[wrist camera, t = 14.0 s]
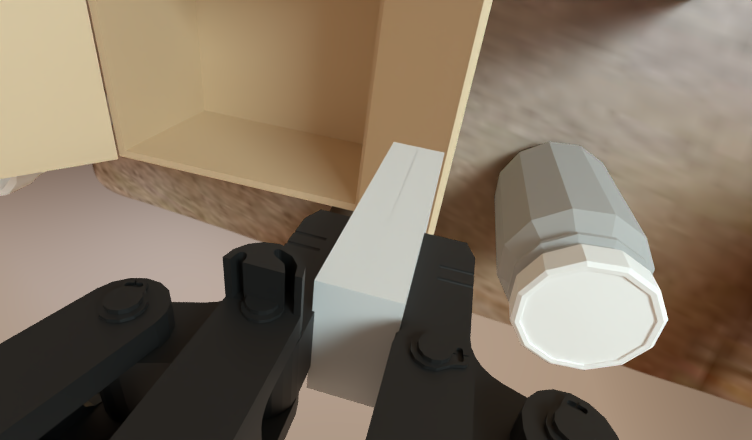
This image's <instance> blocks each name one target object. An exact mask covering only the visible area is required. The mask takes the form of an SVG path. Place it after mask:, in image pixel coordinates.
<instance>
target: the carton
mask: <svg viewBox="0 0 752 440" xmlns="http://www.w3.org/2000/svg"><path fill="white" fill-rule="evenodd" d="M88 4H89V9H90V13H91V18H92V23H93V28H94V33H95V38H96V43H97V48H98V53H99V58H100V63H101V67H102V72H103V77H104V82H105V87H106V92H107V97H108V102H109V107H110V112H111V117H112V121H113V126H114V131H115V136H116V141H117V146H118V151H119V156H122V157H126V158H130V159H134V160H139V161H143V162H147V163H151V164H156V165H160V166H164V167H168V168H173V169H177V170H181V171H185V172H190V173H194V174H198V175H202V176H207V177H211V178H215V179H219V180H224V181H228V182H232V183H236V184H241V185H245V186H249V187H253V188H258V189H262V190H266V191H270V192H274V193H279V194H283V195H287V196H291V197H296V198H300V199H304V200H308V201H313V202H317V203H321V204H325V205H330V206H334V207H338V208H342V209H347V210H351V211H354V210H355V209H356V207H357V205H358V200H359V192H360V185H361V177H362V169H363V162H364V154H365V146H366V139H367V131H368V123H369V115H370V108H371V100H372V92H373V85H374V77H375V69H376V62H377V54H378V46H379V38H380V31H381V23H382V15H383V8H384V0H88Z"/></svg>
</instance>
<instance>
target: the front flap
mask: <svg viewBox="0 0 752 440" xmlns="http://www.w3.org/2000/svg"><path fill="white" fill-rule="evenodd" d="M492 1H493V0H384V8H383V15H382V23H381V31H380V38H379V46H378V54H377V62H376V69H375V77H374V85H373V92H372V100H371V108H370V115H369V123H368V131H367V139H366V146H365V154H364V162H363V169H362V177H361V185H360V192H359V200H358V203H359V202H360V200H361V198H362V196H363V195H364V193H365V191H366V189H367V188H368V186H369V184H370V182H371V181H372V179H373V177H374V175H375V174H376V172H377V170H378V168H379V167H380V165H381V163H382V161H383V160H384V158H385V156H386V154H387V153H388V151H389V149H390V148H391V146H392V144H393V142H397V143H402V144H406V145H411V146H416V147H420V148H425V149H430V150H434V151H439V152H444V157H443V162H442V166H441V170H440V175H439V179H438V183H437V187H436V192H435V196H434V200H433V205H432V209H431V213H430V217H429V222H428V226H427V230H426V233H427V234H431V235H434V232H435V228H436V224H437V220H438V216H439V212H440V208H441V204H442V200H443V196H444V192H445V188H446V184H447V180H448V176H449V172H450V168H451V164H452V160H453V156H454V152H455V148H456V144H457V140H458V136H459V132H460V129H461V125H462V121H463V117H464V113H465V109H466V105H467V101H468V97H469V93H470V89H471V85H472V81H473V77H474V73H475V69H476V65H477V61H478V57H479V53H480V49H481V45H482V41H483V37H484V33H485V29H486V25H487V21H488V17H489V13H490V9H491V5H492Z"/></svg>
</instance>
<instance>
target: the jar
mask: <svg viewBox="0 0 752 440" xmlns="http://www.w3.org/2000/svg"><path fill="white" fill-rule="evenodd" d="M494 198H495V231H496V263H497V276H498V278H499V280H500V283H501V285H502V287H503V289H504V292H505V294H506V296H507V299H508V301H509V312H510V321H511V323H512V326H513V328H514V330H515V332H516V335H517V337H518V339H519V341H520V343H521V345H522V346H523V347H525V348H527V349H528V350H529V351H531V352H532V353H534V354H535V355H537V356H538V357H540V358H541V359H543V360H544V361H546V362H547V363H550V364H555V365H560V366H565V367H570V368H575V369H580V370H589V369H596V368H603V367H610V366H617V365H623V364H624V363H626V362H628V361H629V360H631V359H633V358H635V357H636V356H638V355H640V354H642V353H643V352H645V351H647V350H649V349H650V348H652V347H653V346H654V344H655V343H656V341H657V339H658V337H659V335H660V334H661V332H662V330H663V328H664V326H665V325H666V323H667V321H668V317H667V313H666V309H665V305H664V301H663V297H662V293H661V290H660V288H659V286H658V284H657V283H656V281H655V279H654V277H653V275H652V274H653V272H654V270H655V268H654V264H653V260H652V256H651V252H650V249H649V245H648V241H647V237H646V236H645V234H644V232H643V231H642V229H641V227H640V226H639V224H638V222H637V220H636V219H635V217H634V215H633V214H632V212H631V210H630V209H629V207H628V205H627V203H626V202H625V200H624V198H623V197H622V195H621V193H620V192H619V190H618V188H617V186H616V185H615V183H614V181H613V180H612V178H611V176H610V175H609V173H608V171H607V169H606V168H605V166H604V164H603V163H602V162H601V161H600V160H598V159H597V158H596V157H595V156H593V155H592V154H591V153H589V152H588V151H587V150H585V149H584V148H583V147H581V146H580V145H573V144H564V143H556V142H547V143H544V144H541V145H538V146H535V147H532V148H530V149H527V150H524V151H521V152H519V153H518V154H517V155H516V156H515V157H514V158H513V159H512V160H511V162H510V163H509V164H508V165H507V166H506V167H505V168H504V169H503V170H502V171H501V172H500V174H499V179H498V183H497V188H496V192H495V197H494Z"/></svg>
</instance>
